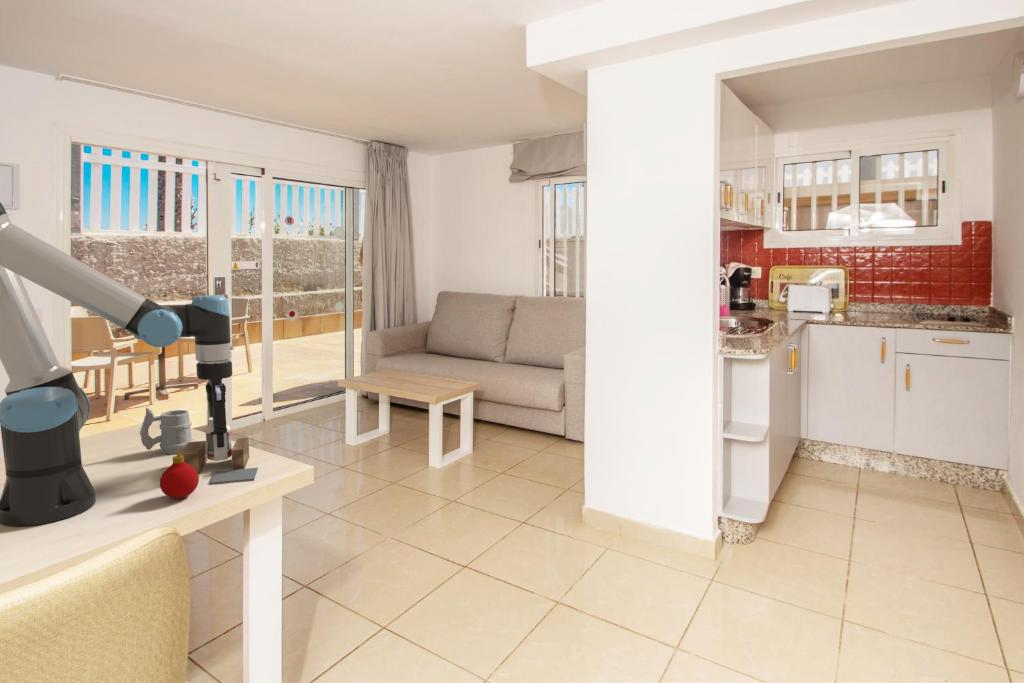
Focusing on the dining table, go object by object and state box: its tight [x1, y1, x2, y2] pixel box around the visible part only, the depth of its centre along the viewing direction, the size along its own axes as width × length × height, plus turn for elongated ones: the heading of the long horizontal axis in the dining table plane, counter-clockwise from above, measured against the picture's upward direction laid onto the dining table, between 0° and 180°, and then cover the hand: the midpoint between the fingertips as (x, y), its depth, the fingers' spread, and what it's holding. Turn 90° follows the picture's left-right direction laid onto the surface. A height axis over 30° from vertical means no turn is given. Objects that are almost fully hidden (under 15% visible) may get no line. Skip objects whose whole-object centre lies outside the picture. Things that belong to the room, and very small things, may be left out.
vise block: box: [179, 437, 250, 475], centre depth 142 cm, size 14×10×5 cm
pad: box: [209, 467, 259, 485], centre depth 135 cm, size 9×8×1 cm
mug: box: [139, 407, 195, 455], centre depth 152 cm, size 8×12×12 cm, turn 125°
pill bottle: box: [205, 416, 232, 461], centre depth 142 cm, size 5×5×10 cm
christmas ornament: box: [159, 451, 200, 499], centre depth 123 cm, size 7×7×10 cm
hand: (219, 456), depth 143 cm, fingers closed on pill bottle, 5 cm apart
